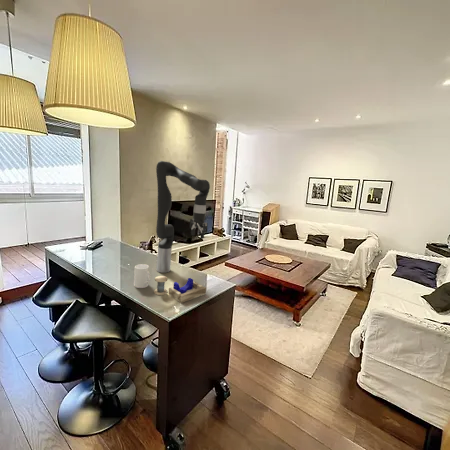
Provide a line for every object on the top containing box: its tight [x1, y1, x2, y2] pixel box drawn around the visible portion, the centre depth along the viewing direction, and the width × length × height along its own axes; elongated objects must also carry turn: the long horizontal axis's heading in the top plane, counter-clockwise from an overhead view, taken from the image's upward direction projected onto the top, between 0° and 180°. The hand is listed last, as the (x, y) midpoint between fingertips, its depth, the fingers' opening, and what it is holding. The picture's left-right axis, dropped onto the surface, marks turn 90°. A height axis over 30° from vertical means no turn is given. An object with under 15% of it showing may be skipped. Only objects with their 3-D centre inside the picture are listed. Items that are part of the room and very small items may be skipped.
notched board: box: [168, 280, 207, 304], centre depth 146 cm, size 12×18×4 cm, turn 137°
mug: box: [133, 263, 151, 289], centre depth 150 cm, size 12×8×12 cm
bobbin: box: [153, 275, 168, 296], centre depth 144 cm, size 7×7×9 cm
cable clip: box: [172, 277, 194, 294], centre depth 147 cm, size 12×4×6 cm, turn 138°
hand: (197, 237), depth 159 cm, fingers open, 8 cm apart
